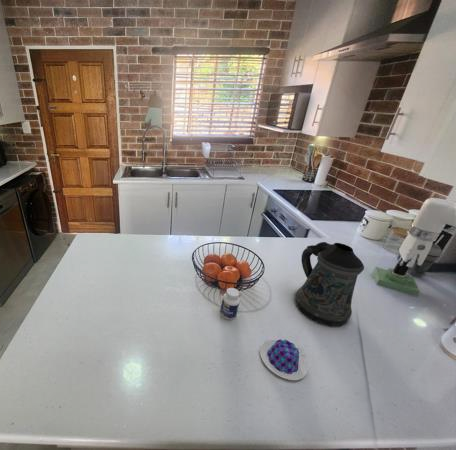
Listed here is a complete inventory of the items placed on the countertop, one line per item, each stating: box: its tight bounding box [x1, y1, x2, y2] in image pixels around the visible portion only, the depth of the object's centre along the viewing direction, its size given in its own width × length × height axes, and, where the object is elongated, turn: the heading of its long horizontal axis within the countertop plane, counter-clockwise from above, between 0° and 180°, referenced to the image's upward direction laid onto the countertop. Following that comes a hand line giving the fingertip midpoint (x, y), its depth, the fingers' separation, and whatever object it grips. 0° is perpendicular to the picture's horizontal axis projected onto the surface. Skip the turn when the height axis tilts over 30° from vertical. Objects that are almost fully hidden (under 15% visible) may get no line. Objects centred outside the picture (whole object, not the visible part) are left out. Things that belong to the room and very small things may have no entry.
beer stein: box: [294, 241, 365, 327], centre depth 82 cm, size 16×19×25 cm
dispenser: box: [371, 266, 421, 297], centre depth 98 cm, size 12×10×6 cm
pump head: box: [392, 271, 406, 278], centre depth 97 cm, size 4×4×2 cm
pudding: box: [259, 339, 308, 381], centre depth 68 cm, size 12×12×5 cm
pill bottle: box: [219, 287, 241, 321], centre depth 81 cm, size 5×5×10 cm
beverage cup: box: [406, 234, 445, 279], centre depth 103 cm, size 7×7×20 cm
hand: (398, 273), depth 97 cm, fingers closed
